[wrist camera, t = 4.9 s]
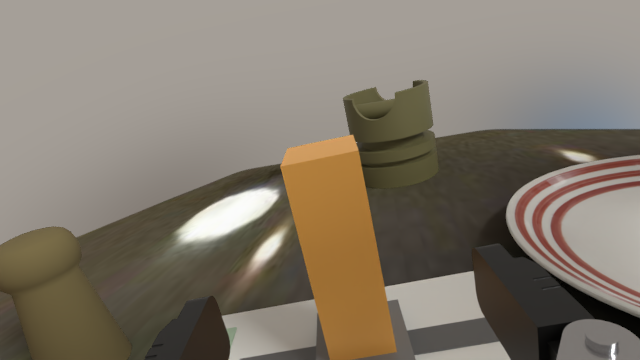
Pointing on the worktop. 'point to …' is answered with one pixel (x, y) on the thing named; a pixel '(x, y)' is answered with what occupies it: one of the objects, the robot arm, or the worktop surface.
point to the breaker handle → (342, 254)
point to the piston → (393, 136)
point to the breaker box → (414, 300)
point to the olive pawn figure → (58, 299)
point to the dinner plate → (585, 228)
